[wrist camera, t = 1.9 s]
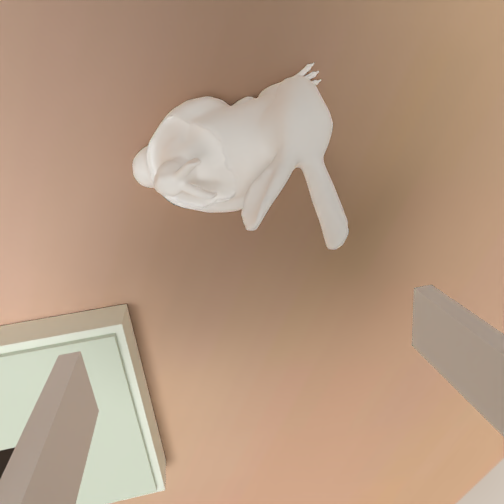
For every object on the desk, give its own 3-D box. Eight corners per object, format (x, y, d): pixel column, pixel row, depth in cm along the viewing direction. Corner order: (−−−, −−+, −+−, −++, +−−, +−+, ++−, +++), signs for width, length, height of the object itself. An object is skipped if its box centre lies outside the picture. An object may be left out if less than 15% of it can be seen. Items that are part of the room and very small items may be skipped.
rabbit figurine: (317, 60, 23) (406, 34, 14) (341, 184, 26) (427, 226, 17) (117, 121, 22) (79, 133, 14) (164, 241, 25) (159, 316, 16)
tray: (-143, 351, 24) (-184, 383, 21) (126, 303, 26) (121, 327, 23) (-54, 510, 29) (-78, 552, 27) (166, 460, 31) (165, 494, 29)
